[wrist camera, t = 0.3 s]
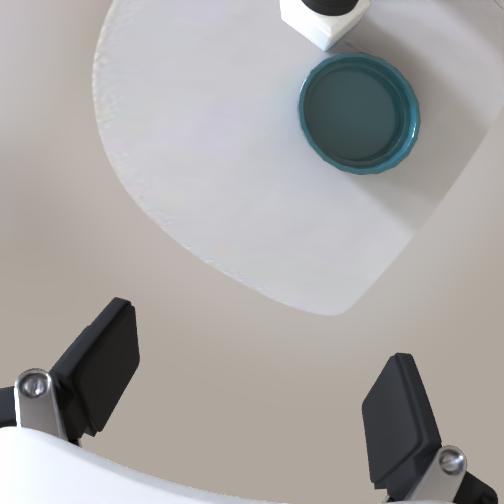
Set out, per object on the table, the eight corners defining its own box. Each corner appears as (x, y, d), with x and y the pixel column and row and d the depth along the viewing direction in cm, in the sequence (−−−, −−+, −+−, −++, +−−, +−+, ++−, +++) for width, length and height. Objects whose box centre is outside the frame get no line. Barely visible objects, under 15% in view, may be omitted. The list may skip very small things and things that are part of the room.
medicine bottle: (360, 20, 28) (384, -15, 17) (325, 53, 30) (338, 23, 19) (316, -12, 26) (323, -57, 15) (280, 19, 29) (275, -21, 18)
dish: (307, 49, 30) (309, 39, 26) (413, 79, 30) (427, 75, 26) (288, 155, 36) (288, 159, 32) (394, 180, 36) (405, 187, 32)
